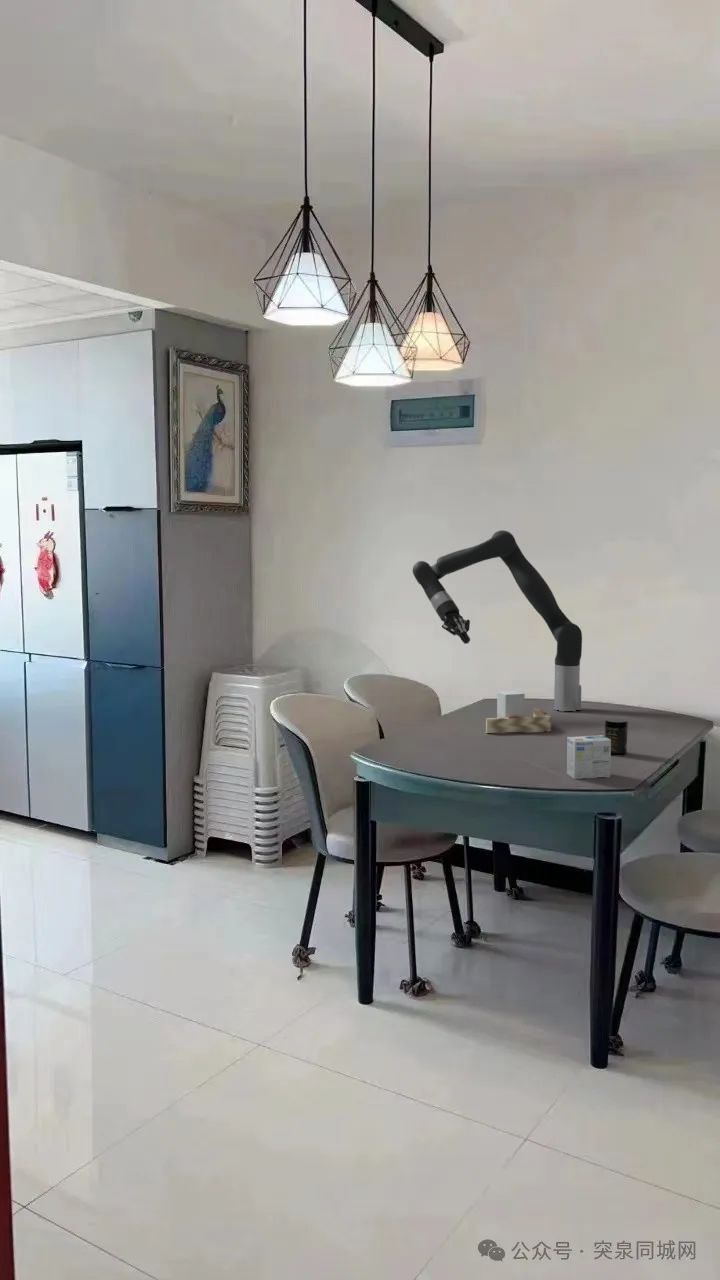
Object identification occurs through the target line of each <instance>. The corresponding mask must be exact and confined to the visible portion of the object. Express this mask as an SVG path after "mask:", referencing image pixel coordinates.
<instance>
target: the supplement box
mask: <svg viewBox="0 0 720 1280" xmlns="http://www.w3.org/2000/svg"><path fill="white" fill-rule="evenodd" d="M496 695H497V696H496V705H497V706H496V718H508V716H523V717H526V716H525V713H526V712H525V707H526V706H525V701H526V699H525V697H526V694H525V693H524V692H521V691H518V690H506V691H497V694H496Z"/></svg>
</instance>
